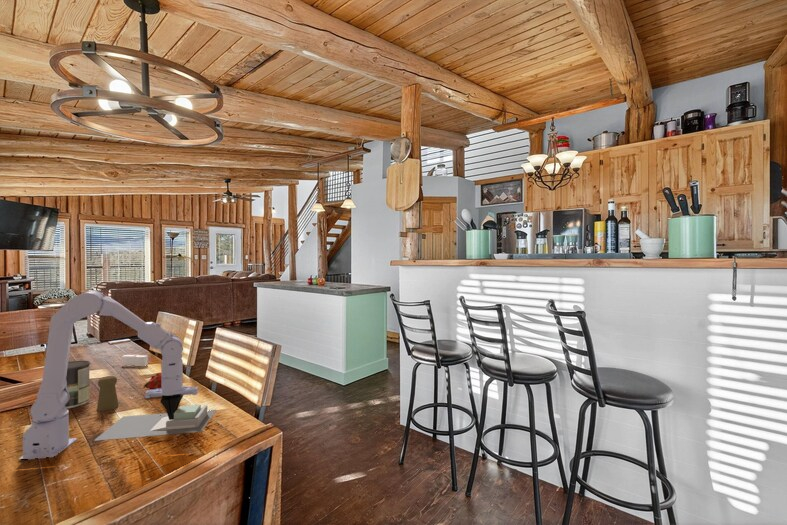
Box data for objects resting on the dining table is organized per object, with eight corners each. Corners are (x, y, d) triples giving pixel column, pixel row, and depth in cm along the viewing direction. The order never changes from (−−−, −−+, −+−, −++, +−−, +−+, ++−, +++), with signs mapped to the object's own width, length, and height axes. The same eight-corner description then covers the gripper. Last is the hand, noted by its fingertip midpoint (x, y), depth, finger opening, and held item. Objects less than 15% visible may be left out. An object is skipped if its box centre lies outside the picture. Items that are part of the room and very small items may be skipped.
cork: (106, 412, 123) (106, 380, 123) (92, 411, 124) (91, 379, 124) (123, 405, 129) (122, 374, 129) (109, 404, 130) (108, 373, 130)
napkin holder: (115, 367, 174) (114, 355, 174) (142, 361, 183) (142, 350, 183) (126, 373, 165) (126, 360, 165) (154, 367, 175) (154, 355, 174)
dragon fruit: (182, 392, 145) (146, 404, 138) (177, 376, 150) (142, 386, 143) (181, 379, 141) (144, 391, 133) (176, 363, 145) (140, 373, 138)
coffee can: (59, 412, 123) (59, 370, 123) (46, 406, 128) (45, 366, 128) (95, 401, 132) (95, 362, 132) (82, 396, 137) (81, 358, 137)
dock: (201, 434, 109) (201, 421, 109) (93, 443, 104) (93, 430, 104) (216, 412, 125) (216, 400, 125) (123, 419, 119) (123, 407, 119)
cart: (196, 422, 114) (195, 411, 114) (172, 423, 112) (172, 413, 112) (201, 414, 119) (201, 404, 119) (179, 416, 118) (179, 406, 118)
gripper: (201, 370, 120) (201, 411, 120) (152, 372, 117) (152, 414, 117) (193, 377, 113) (194, 420, 113) (141, 380, 110) (142, 424, 110)
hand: (172, 418), depth 115 cm, fingers closed
